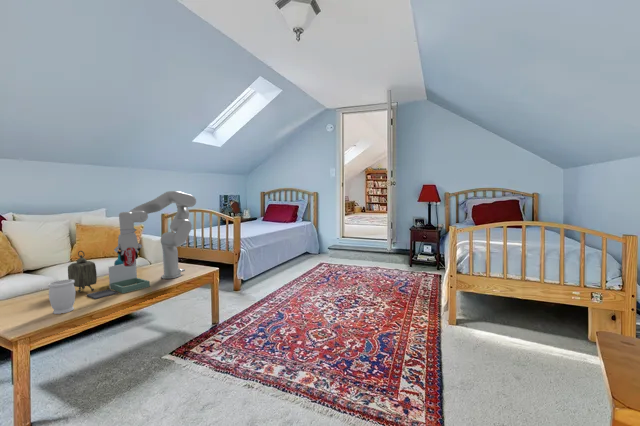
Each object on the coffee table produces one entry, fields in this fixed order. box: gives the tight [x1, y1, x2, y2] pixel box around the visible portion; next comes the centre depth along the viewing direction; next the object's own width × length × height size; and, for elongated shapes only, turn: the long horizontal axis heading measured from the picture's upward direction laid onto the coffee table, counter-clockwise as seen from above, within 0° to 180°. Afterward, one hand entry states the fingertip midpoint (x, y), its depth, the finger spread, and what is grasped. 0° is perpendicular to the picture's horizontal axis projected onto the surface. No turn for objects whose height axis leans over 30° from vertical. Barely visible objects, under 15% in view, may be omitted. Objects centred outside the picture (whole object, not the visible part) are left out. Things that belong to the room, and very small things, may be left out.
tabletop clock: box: [67, 250, 98, 293], centre depth 192 cm, size 14×9×25 cm, turn 62°
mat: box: [85, 288, 119, 300], centre depth 186 cm, size 12×12×1 cm
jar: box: [47, 279, 77, 315], centre depth 159 cm, size 11×10×15 cm
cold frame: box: [108, 263, 151, 294], centre depth 198 cm, size 16×17×14 cm
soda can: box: [123, 247, 137, 267], centre depth 198 cm, size 7×7×12 cm
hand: (129, 259), depth 198 cm, fingers closed on soda can, 7 cm apart
